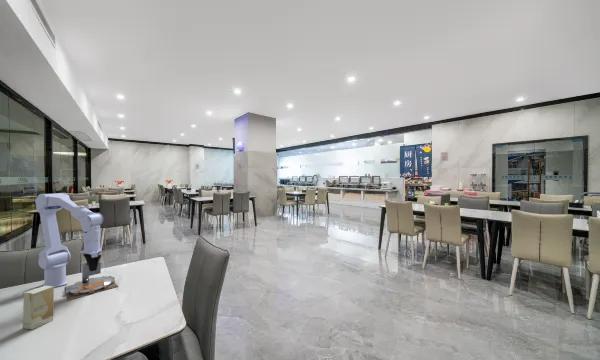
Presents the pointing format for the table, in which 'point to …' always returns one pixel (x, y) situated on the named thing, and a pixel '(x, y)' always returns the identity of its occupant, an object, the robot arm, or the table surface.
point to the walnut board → (72, 296)
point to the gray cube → (87, 272)
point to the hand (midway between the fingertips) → (92, 269)
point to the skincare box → (38, 307)
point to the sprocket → (90, 285)
